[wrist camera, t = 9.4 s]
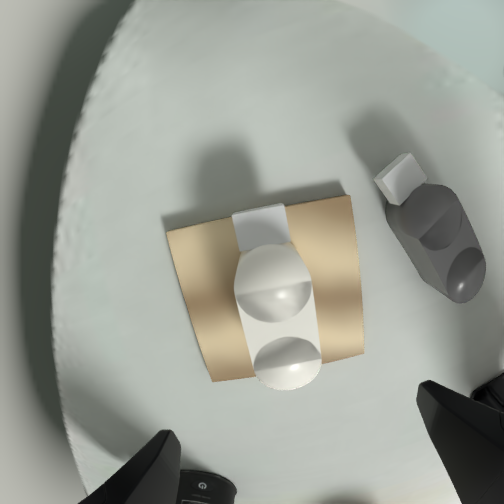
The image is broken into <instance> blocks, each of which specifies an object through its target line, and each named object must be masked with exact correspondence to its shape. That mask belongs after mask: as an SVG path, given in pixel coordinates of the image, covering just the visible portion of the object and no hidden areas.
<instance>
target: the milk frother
mask: <svg viewBox="0 0 504 504" xmlns="http://www.w3.org/2000/svg"><path fill="white" fill-rule="evenodd" d="M236 493H237V489H236V487H235V486H234V485H233V484H232V483H231V482H230V481H228V480H226V479H224V478H222V477H219V476H217V475H213V474H209V473H205V472H199V471H180V477H179V486H178V491H177V497H176V503H175V504H234V498H235V495H236Z"/></svg>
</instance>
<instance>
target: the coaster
mask: <svg viewBox="0 0 504 504" xmlns="http://www.w3.org/2000/svg"><path fill="white" fill-rule="evenodd" d="M284 207H285V212H286V217H287V222H288V228H289V233H290V239H291V243H292V244H293V245H294V247H295V248H296V250H297V251H298V253H299V255H300V257H301V258H302V260H303V262H304V264H305V265H306V267H307V269H308V271H309V273H310V276H311V281H312V287H313V294H314V302H315V309H316V317H317V324H318V333H319V341H320V350H321V359H322V363H321V364H324V363H329V362H333V361H337V360H341V359H345V358H349V357H353V356H357V355H360V354H364V328H363V308H362V292H361V280H360V269H359V258H358V249H357V241H356V232H355V225H354V218H353V211H352V204H351V198H350V195H342V196H336V197H331V198H325V199H319V200H314V201H308V202H303V203H298V204H292V205H287V206H284ZM166 234H167V238H168V242H169V246H170V249H171V253H172V257H173V261H174V264H175V268H176V271H177V275H178V278H179V282H180V285H181V289H182V292H183V295H184V299H185V302H186V305H187V309H188V312H189V315H190V318H191V321H192V324H193V327H194V331H195V334H196V337H197V340H198V343H199V346H200V348H201V351H202V354H203V357H204V360H205V363H206V366H207V368H208V371H209V374H210V377H211V379H212V382H217V381H226V380H234V379H242V378H249V377H256V375H255V372H254V369H253V365H252V361H251V357H250V353H249V349H248V346H247V342H246V338H245V334H244V330H243V326H242V322H241V318H240V314H239V310H238V306H237V302H236V298H235V293H234V281H235V276H236V271H237V266H238V262H239V257H240V254H241V252H242V251H241V252H240V251H239V246H238V242H237V237H236V233H235V228H234V224H233V219H232V217H228V218H223V219H218V220H214V221H209V222H205V223H200V224H196V225H191V226H187V227H183V228H178V229H174V230H170V231H168V232H166Z"/></svg>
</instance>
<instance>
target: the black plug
mask: <svg viewBox="0 0 504 504" xmlns="http://www.w3.org/2000/svg"><path fill="white" fill-rule="evenodd" d="M427 179H428V178H427V177H426V175H425V173H424V172H423V170H422V169H421V167H420V165H419V164H418V162H417V161H416V159H415V158H414V156H413V155H412V153H411V152H410V153H403V154H400V155H399V156H398V157H397V158H396V159H394V160H393V161H392V162H391V163H390V164H389V165H388V166H387V167H386V168H384V169H383V170H382V171H381V172H380V173H379V174H378V175H377V176H376V177H374V178H373V180H374V181H375V183H376V184H377V186H378V187H379V188H380V190H381V191H382V193H383V194H384V195H385V197H386V198H387V203H386V219H387V222H388V224H389V226H390V228H391V229H392V231H393V233H394V234H395V236H396V237H397V239H398V240H399V242H400V243H401V245H402V246H403V248H404V250H405V251H406V253H407V254H408V256H409V258H410V259H411V261H412V263H413V264H414V266H415V268H416V269H417V271H418V273H419V274H420V276H421V278H422V279H423V280H424V281H425V282H426V283H428V284H429V285H430V286H432V287H433V288H435V289H436V290H438V291H439V292H441V293H442V294H444V295H445V296H446V297H448V298H449V299H451V300H452V301H453V302H455V303H465V302H467V301H469V300H471V299H472V298H473V297H474V296H475V295H476V294H477V292H478V291H479V289H480V288H481V286H482V284H483V281H484V278H485V273H486V262H485V258H484V255H483V253H482V250H481V247H480V245H479V243H478V240H477V238H476V235H475V233H474V231H473V229H472V226H471V224H470V222H469V220H468V218H467V215H466V213H465V211H464V209H463V207H462V205H461V203H460V201H459V199H458V197H457V196H456V194H455V193H454V192H453V191H452V190H451V189H450V188H448V187H446V186H443V185H434V184H423V183H424V182H425V181H426V180H427Z"/></svg>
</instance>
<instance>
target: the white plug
mask: <svg viewBox="0 0 504 504" xmlns="http://www.w3.org/2000/svg"><path fill="white" fill-rule="evenodd" d="M232 219H233V224H234V228H235V233H236V237H237V242H238V246H239V251H240V252H241V251H242V252H241V254H240V257H239V262H238V266H237V271H236V276H235V281H234V293H235V298H236V302H237V306H238V310H239V314H240V318H241V322H242V326H243V330H244V334H245V338H246V342H247V346H248V349H249V353H250V357H251V361H252V365H253V369H254V372H255V375H256V377H257V378H258V379H259V381H260V382H262V383H263V384H264V385H266V386H268V387H270V388H272V389H276V390H293V389H297V388H300V387H302V386H304V385H306V384H308V383H309V382H310V381H312V380H313V379H314V378H315V377H316V375H317V374H318V372H319V370H320V367H321V363H322V359H321V350H320V341H319V333H318V324H317V317H316V309H315V302H314V294H313V287H312V281H311V276H310V273H309V271H308V269H307V267H306V265H305V264H304V262H303V260H302V258H301V257H300V255H299V253H298V251H297V250H296V248H295V247H294V245H293V244H292V243H291V239H290V233H289V228H288V222H287V217H286V212H285V207H284V204H283V203H278V204H273V205H268V206H263V207H258V208H253V209H248V210H243V211H239V212H234V213H233V214H232Z"/></svg>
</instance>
